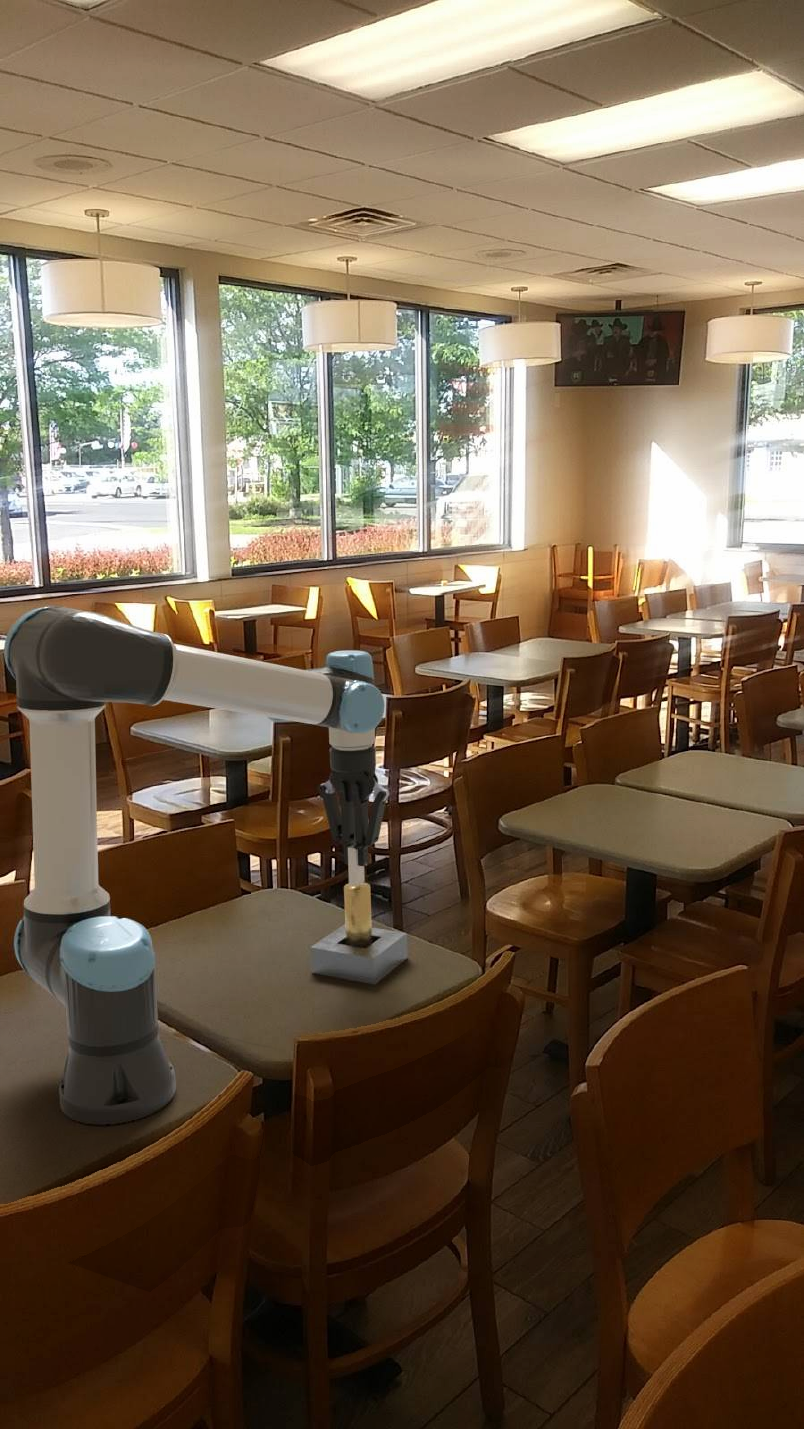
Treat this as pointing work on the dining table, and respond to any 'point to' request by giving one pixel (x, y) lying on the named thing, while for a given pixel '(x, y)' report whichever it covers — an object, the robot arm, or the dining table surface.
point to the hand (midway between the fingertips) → (356, 883)
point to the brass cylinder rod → (358, 915)
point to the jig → (359, 956)
